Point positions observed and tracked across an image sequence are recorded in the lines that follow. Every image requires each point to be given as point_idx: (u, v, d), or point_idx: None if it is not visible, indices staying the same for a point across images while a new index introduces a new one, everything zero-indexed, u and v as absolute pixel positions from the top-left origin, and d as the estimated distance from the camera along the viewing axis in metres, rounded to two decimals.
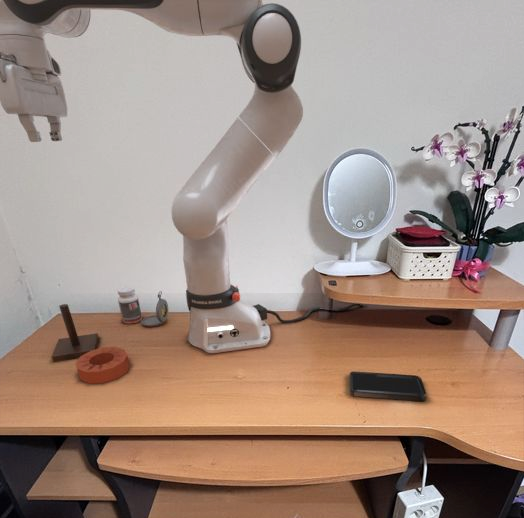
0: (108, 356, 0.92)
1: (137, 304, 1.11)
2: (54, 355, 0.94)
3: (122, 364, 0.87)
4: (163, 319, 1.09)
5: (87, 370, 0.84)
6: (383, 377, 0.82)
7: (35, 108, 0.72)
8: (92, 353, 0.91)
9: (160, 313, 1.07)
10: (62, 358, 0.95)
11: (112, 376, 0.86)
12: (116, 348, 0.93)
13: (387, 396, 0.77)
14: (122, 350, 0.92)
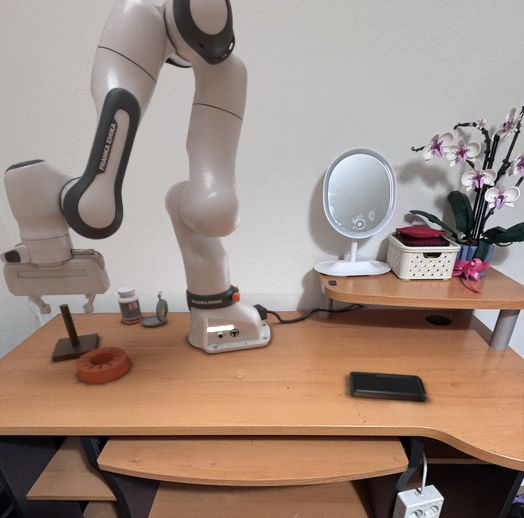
0: (108, 356, 0.92)
1: (137, 304, 1.11)
2: (54, 355, 0.94)
3: (122, 364, 0.87)
4: (163, 319, 1.09)
5: (87, 370, 0.84)
6: (383, 377, 0.82)
7: None
8: (92, 353, 0.91)
9: (160, 313, 1.07)
10: (62, 358, 0.95)
11: (112, 376, 0.86)
12: (116, 348, 0.93)
13: (387, 396, 0.77)
14: (122, 350, 0.92)
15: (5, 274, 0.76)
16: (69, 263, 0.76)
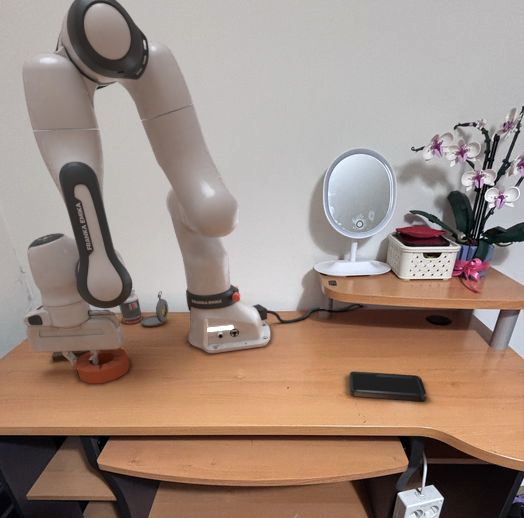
0: (108, 356, 0.92)
1: (137, 304, 1.11)
2: (54, 355, 0.94)
3: (122, 364, 0.87)
4: (163, 319, 1.09)
5: (87, 370, 0.84)
6: (383, 377, 0.82)
7: None
8: None
9: (160, 313, 1.07)
10: (62, 358, 0.95)
11: (112, 376, 0.86)
12: None
13: (387, 396, 0.77)
14: (122, 350, 0.92)
15: (28, 334, 0.82)
16: (87, 323, 0.82)
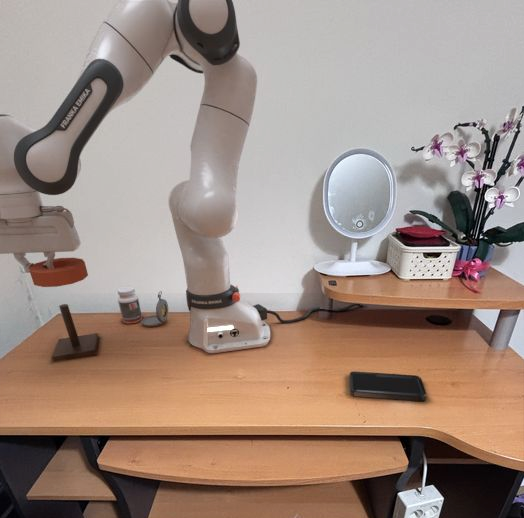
0: (64, 265, 0.87)
1: (137, 304, 1.11)
2: (54, 355, 0.94)
3: (78, 269, 0.83)
4: (163, 319, 1.09)
5: (40, 271, 0.80)
6: (383, 377, 0.82)
7: None
8: None
9: (160, 313, 1.07)
10: (62, 358, 0.95)
11: (67, 280, 0.82)
12: (74, 258, 0.88)
13: (387, 396, 0.77)
14: (80, 259, 0.87)
15: None
16: (38, 219, 0.78)
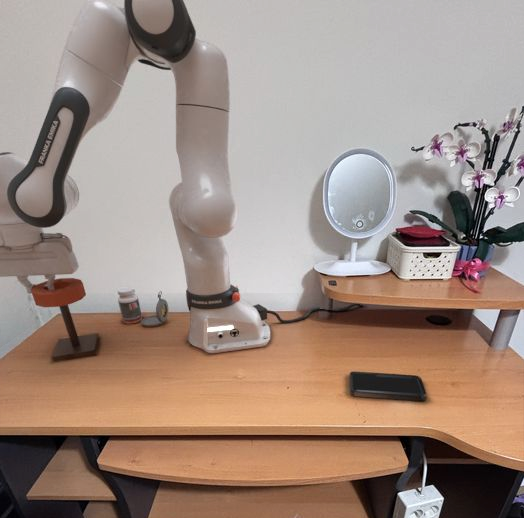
0: (64, 285, 0.94)
1: (137, 304, 1.11)
2: (54, 355, 0.94)
3: (77, 290, 0.90)
4: (163, 319, 1.09)
5: (41, 293, 0.86)
6: (383, 377, 0.82)
7: None
8: None
9: (160, 313, 1.07)
10: (62, 358, 0.95)
11: (66, 300, 0.88)
12: (73, 278, 0.95)
13: (387, 396, 0.77)
14: (78, 280, 0.94)
15: None
16: (39, 246, 0.84)
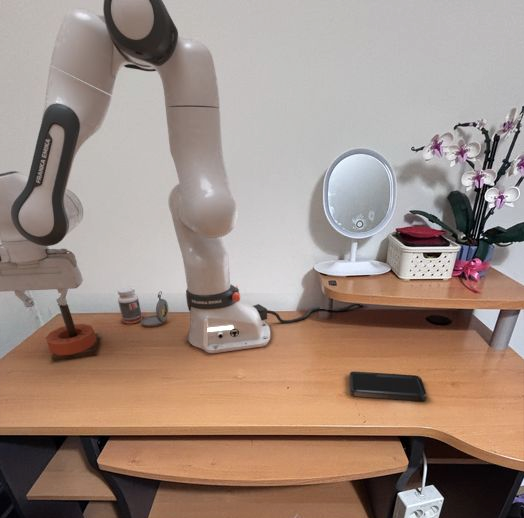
0: None
1: (137, 304, 1.11)
2: (54, 355, 0.94)
3: (89, 337, 0.96)
4: (163, 319, 1.09)
5: (56, 343, 0.93)
6: (383, 377, 0.82)
7: None
8: (61, 329, 1.00)
9: (160, 313, 1.07)
10: (62, 358, 0.95)
11: (79, 348, 0.95)
12: (83, 325, 1.02)
13: (387, 396, 0.77)
14: (89, 326, 1.01)
15: None
16: (44, 261, 0.86)
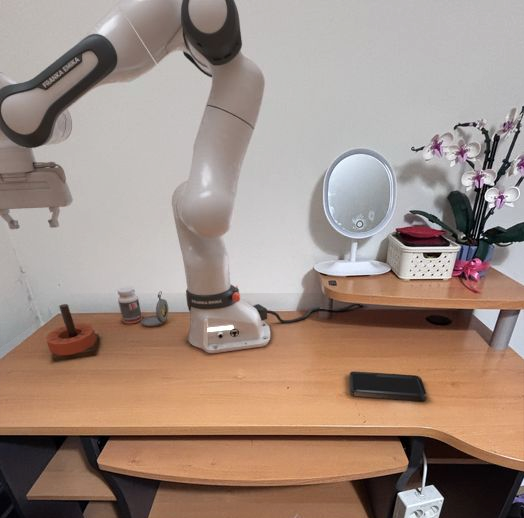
0: None
1: (137, 304, 1.11)
2: (54, 355, 0.94)
3: (89, 337, 0.96)
4: (163, 319, 1.09)
5: (56, 343, 0.93)
6: (383, 377, 0.82)
7: None
8: (61, 329, 1.00)
9: (160, 313, 1.07)
10: (62, 358, 0.95)
11: (79, 348, 0.95)
12: (83, 325, 1.02)
13: (387, 396, 0.77)
14: (89, 326, 1.01)
15: None
16: (32, 175, 0.83)
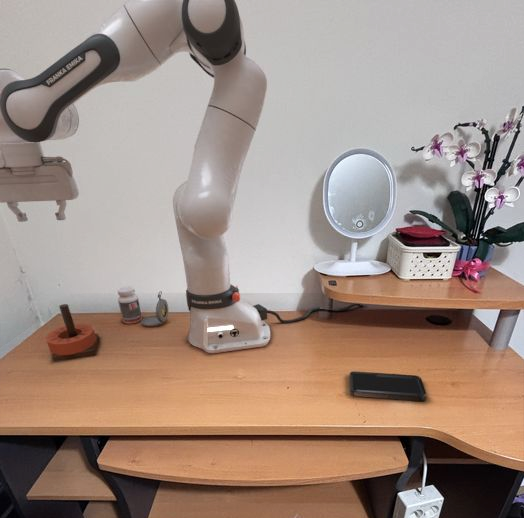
0: None
1: (137, 304, 1.11)
2: (54, 355, 0.94)
3: (89, 337, 0.96)
4: (163, 319, 1.09)
5: (56, 343, 0.93)
6: (383, 377, 0.82)
7: None
8: (61, 329, 1.00)
9: (160, 313, 1.07)
10: (62, 358, 0.95)
11: (79, 348, 0.95)
12: (83, 325, 1.02)
13: (387, 396, 0.77)
14: (89, 326, 1.01)
15: None
16: (40, 169, 0.86)
